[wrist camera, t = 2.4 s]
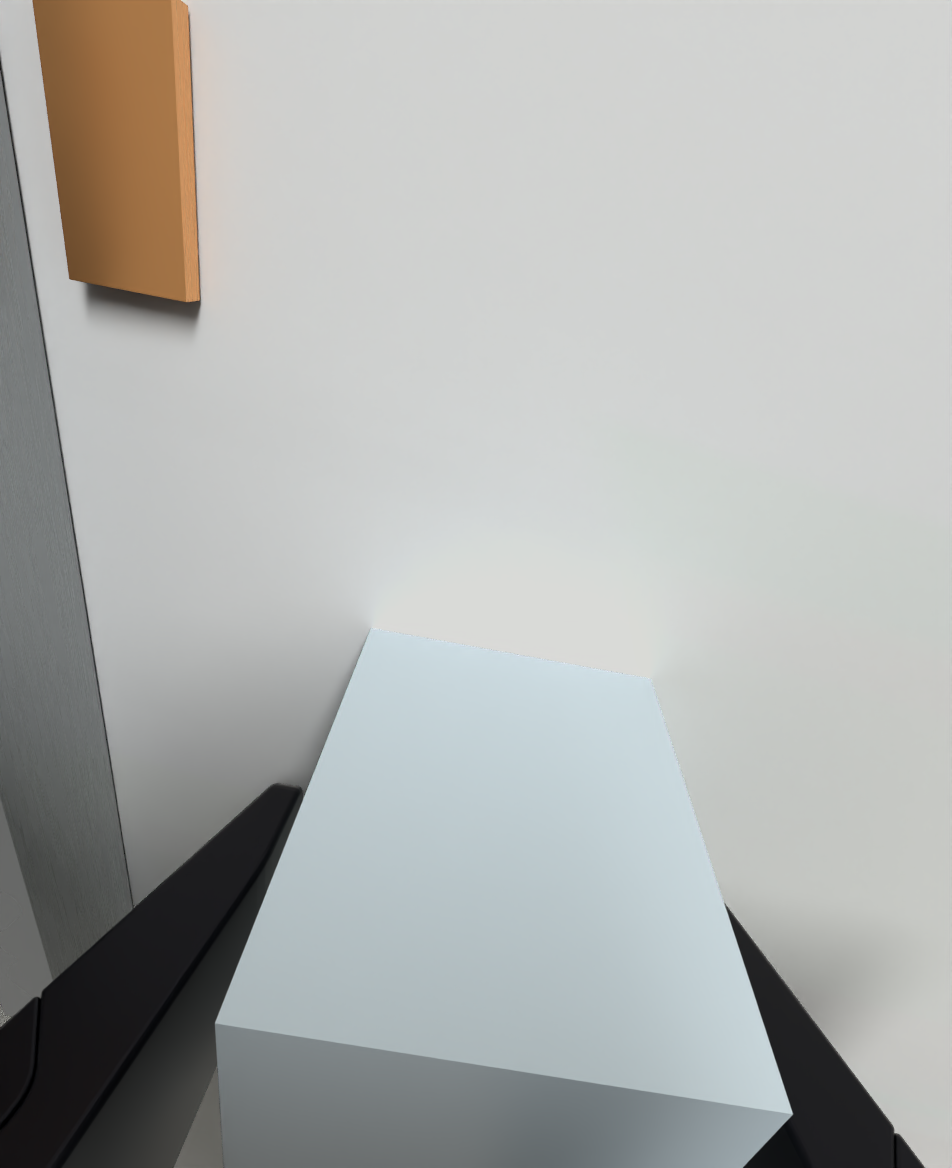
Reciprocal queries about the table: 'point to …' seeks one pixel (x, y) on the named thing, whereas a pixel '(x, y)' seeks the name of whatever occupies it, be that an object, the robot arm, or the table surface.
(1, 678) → the channel
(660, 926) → the pale blue cuboid
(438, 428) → the table surface
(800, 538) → the table surface
